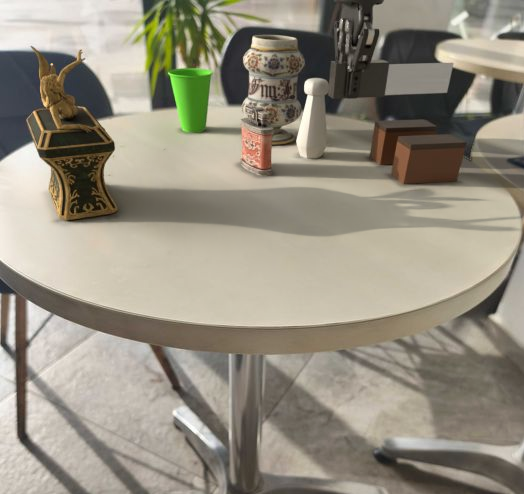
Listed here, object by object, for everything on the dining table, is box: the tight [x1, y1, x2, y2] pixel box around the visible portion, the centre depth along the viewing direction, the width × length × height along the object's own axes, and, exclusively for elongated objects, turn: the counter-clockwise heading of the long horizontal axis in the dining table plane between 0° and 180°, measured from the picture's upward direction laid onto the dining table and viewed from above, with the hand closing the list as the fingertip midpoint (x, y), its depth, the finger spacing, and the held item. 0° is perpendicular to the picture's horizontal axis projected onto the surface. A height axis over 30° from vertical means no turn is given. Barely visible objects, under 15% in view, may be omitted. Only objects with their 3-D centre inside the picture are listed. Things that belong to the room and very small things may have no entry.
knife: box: [327, 59, 454, 100], centre depth 82 cm, size 21×3×5 cm, turn 103°
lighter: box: [240, 104, 273, 177], centre depth 85 cm, size 8×3×10 cm, turn 32°
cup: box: [167, 67, 214, 134], centre depth 103 cm, size 9×9×11 cm
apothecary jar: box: [241, 34, 306, 146], centre depth 97 cm, size 12×12×18 cm
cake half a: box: [390, 133, 468, 185], centre depth 84 cm, size 10×5×6 cm, turn 103°
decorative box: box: [25, 45, 119, 221], centre depth 69 cm, size 20×10×20 cm, turn 25°
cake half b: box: [369, 118, 438, 166], centre depth 92 cm, size 10×5×6 cm, turn 103°
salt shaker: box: [295, 77, 329, 159], centre depth 91 cm, size 6×6×13 cm
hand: (347, 95), depth 82 cm, fingers closed on knife, 2 cm apart
